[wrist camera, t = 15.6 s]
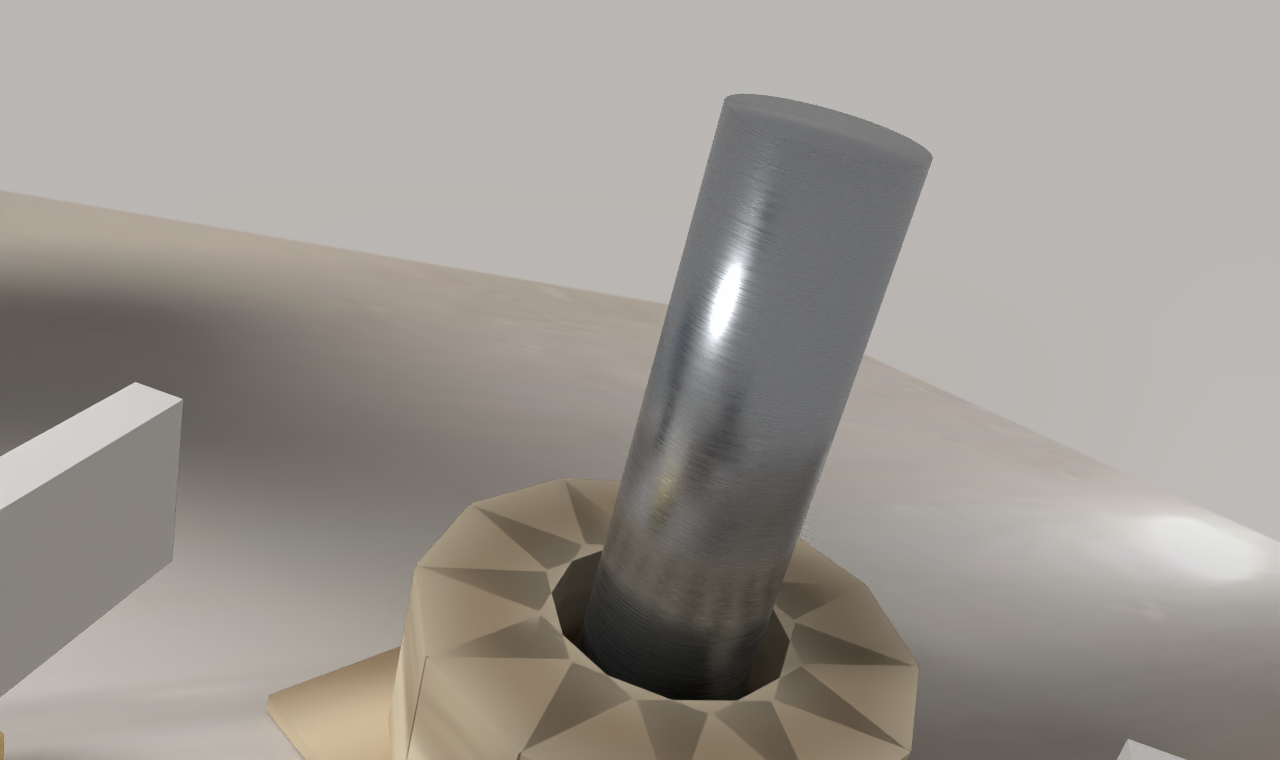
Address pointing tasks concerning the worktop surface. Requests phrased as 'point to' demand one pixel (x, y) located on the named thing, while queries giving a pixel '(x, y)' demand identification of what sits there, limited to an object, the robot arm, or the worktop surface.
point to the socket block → (572, 684)
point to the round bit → (747, 389)
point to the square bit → (1, 746)
